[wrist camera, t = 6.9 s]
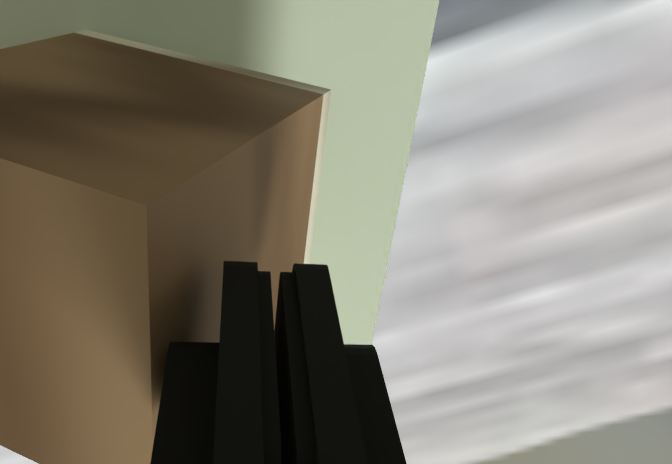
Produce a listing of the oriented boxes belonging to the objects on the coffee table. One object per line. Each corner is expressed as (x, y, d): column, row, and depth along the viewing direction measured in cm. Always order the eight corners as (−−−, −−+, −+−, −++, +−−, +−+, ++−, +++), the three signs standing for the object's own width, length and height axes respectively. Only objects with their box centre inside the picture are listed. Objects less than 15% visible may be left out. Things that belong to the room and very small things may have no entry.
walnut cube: (331, 89, 13) (146, 204, 8) (302, 325, 16) (155, 519, 11) (87, 29, 14) (-198, 93, 9) (102, 254, 17) (-107, 393, 12)
